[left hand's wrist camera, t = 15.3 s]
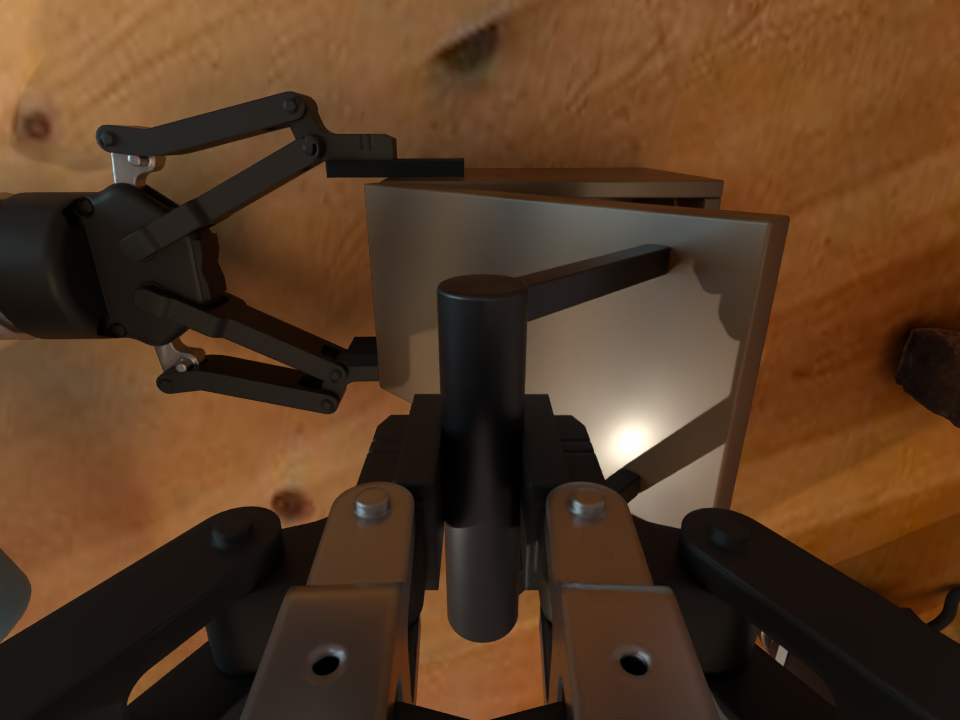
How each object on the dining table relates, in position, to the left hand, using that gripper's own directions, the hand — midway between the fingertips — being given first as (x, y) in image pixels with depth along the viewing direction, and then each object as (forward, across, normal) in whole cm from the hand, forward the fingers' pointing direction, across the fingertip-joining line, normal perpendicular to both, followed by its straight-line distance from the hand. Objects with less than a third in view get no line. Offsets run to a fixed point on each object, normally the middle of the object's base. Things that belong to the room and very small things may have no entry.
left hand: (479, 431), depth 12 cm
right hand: (+18, +1, 0) cm, 18 cm away
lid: (+8, -2, 0) cm, 8 cm away
